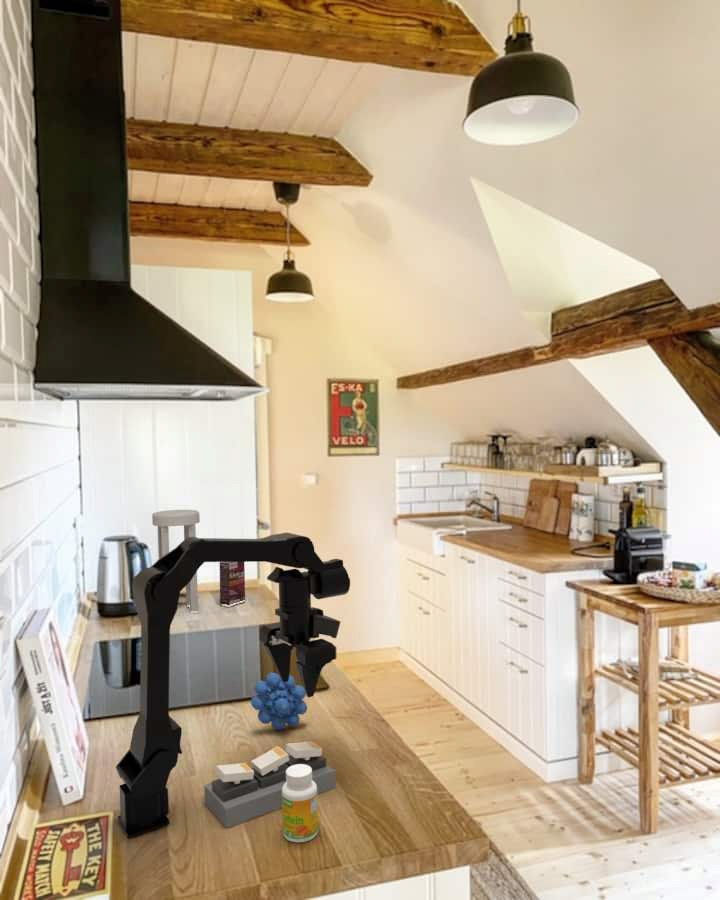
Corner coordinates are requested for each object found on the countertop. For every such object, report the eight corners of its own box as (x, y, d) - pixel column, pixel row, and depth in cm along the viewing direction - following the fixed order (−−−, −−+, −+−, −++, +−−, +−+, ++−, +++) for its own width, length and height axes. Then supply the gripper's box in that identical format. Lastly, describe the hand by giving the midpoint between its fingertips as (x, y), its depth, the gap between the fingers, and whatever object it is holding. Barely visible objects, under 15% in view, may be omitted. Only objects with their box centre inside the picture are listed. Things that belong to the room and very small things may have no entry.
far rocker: (294, 761, 116) (296, 750, 116) (284, 753, 118) (286, 743, 119) (320, 759, 118) (322, 748, 119) (310, 751, 121) (311, 741, 122)
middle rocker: (262, 778, 112) (260, 768, 112) (253, 770, 115) (251, 760, 115) (290, 763, 115) (287, 753, 115) (280, 755, 118) (277, 745, 118)
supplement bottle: (276, 839, 102) (274, 775, 102) (292, 820, 107) (290, 759, 107) (309, 846, 100) (307, 781, 100) (324, 826, 105) (322, 764, 105)
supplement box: (229, 608, 242) (228, 563, 241) (219, 606, 244) (218, 562, 244) (246, 602, 249) (245, 559, 249) (236, 601, 252) (235, 558, 251)
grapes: (255, 743, 135) (254, 683, 134) (250, 729, 141) (248, 672, 141) (313, 733, 138) (311, 675, 138) (304, 720, 145) (303, 664, 144)
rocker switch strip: (226, 828, 106) (225, 800, 106) (204, 803, 113) (203, 777, 113) (335, 787, 117) (334, 762, 117) (309, 767, 124) (308, 743, 124)
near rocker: (223, 785, 108) (224, 774, 108) (214, 776, 111) (216, 765, 111) (252, 782, 111) (254, 771, 111) (243, 773, 114) (244, 762, 114)
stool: (158, 619, 228) (155, 515, 227) (153, 609, 242) (150, 511, 242) (205, 614, 234) (202, 512, 233) (197, 604, 248) (194, 508, 248)
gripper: (360, 606, 120) (363, 694, 120) (308, 587, 135) (310, 665, 136) (305, 617, 114) (308, 709, 114) (257, 596, 129) (259, 678, 129)
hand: (297, 688), depth 123 cm, fingers open, 9 cm apart
